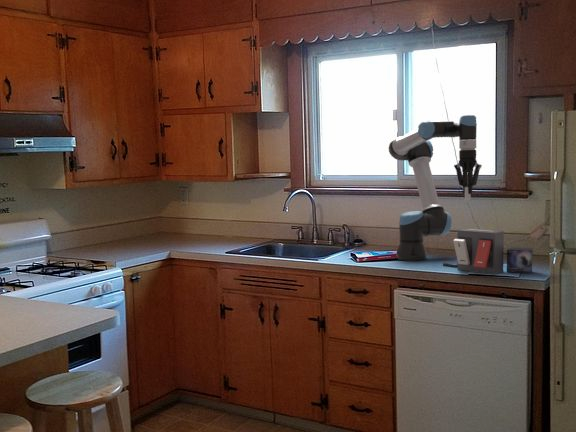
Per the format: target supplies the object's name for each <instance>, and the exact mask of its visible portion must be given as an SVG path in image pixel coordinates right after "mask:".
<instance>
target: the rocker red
mask: <svg viewBox="0 0 576 432" xmlns="http://www.w3.org/2000/svg"><path fill="white" fill-rule="evenodd" d="M491 243H492V242H491V241H487V240H479V244H478V248H477V253H476V257H475V262H474V267H478V268H486V266H487V261H488V256H489V252H490V247H491Z"/></svg>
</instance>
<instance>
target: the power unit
mask: <svg viewBox="0 0 576 432" xmlns="http://www.w3.org/2000/svg"><path fill="white" fill-rule="evenodd" d="M456 232H457V238H456V239H464V240H465V241H466V246H467V251H468V255H469V260H470V264H469V265H464V264H458V260H457V264H455V263H444V262H443V263H442V265H443V266H444V267H452V268H457V271H464V272H465V271H466V272H474V273H482V274H488V273H490V275H498V274H500V273H502V272H503V273H504V234H505V232H504V230H493V229H479V228H468V227H467V228H462V229H458V230H457V231H456ZM479 240H487V241H491V242H492V243H491V247H490V252H489V256H488V261H487V266H486V268H478V267H474V262H475V257H476V253H477V248H478V244H479Z"/></svg>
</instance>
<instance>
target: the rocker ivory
mask: <svg viewBox="0 0 576 432" xmlns="http://www.w3.org/2000/svg"><path fill="white" fill-rule="evenodd" d="M453 244H454V245H453V246H454V250H455V255H456V259H457V260H458V264H464V265H469V264H470V260H469V255H468V251H467V246H466V241H465V240H464V239H457V238H453Z"/></svg>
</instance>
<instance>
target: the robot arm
mask: <svg viewBox="0 0 576 432" xmlns="http://www.w3.org/2000/svg"><path fill="white" fill-rule="evenodd" d="M477 124H478V123H477V117H476V115H473V114H472V115H471V114H469V115H468V114H467V115H460V116H459V119H458V120H439V121H438V120H426V121H421V122H420V123H419V125H418V127H417V128H415V129H414V130H411V131H410V132H408V133H406V134H404V135H403V136H397V137H395V138H393V139H392V140H391V141H390V142H389V145H388V152H389V155H390V156H391V157H392V158H393V159H395V160H397V161H407V162H408V165H409V167H411V168H412V170H413V175H414V177H415V178H414V179H415V183H416V187H417V190H418V194H419V198H420V203H421V206H422V210H413V211H412V210H411V211H405V212H403V213H401V214H400V216H399V221H398V225H399V226H398V227H399V244H398V248H397V250H396V253H395V254H396V255H395V256H397V258H398V259H397V258H396V259H397V260H400V261H410V262H411V261H414V262H415V261H424V260H425V261H426V260H427V259H428V253H427V251H426V248H425V245H424V237H426V238H427V237H441V236H445V235H447V234H448V233H449V232H450V231H451V228H452V216H451V214H450V212H447V211H445V208H444V206H442V205H440V201H439V198H438V197H439V196H438V194H437V190H436V186H435V181H434V179H433V174H432V171H431V167H430V162H431V161H432V158H433V156H434V148H433V147H434V146H433V144H432V142H431V140H432V139H434V138H435V139H436V138H459V139H458V140H459V142H458V143H459V144H458V145H459V148H458V149H460V150H458V151H459V153H458V154H459V155H458V156H459V160H458V163H456V164H454V166H453V167H454V169H455V171H456V176H457V181H458V184H459V186H462V193H463V195H464V202H471V195H472V194H473V187H474V186H477V183H478V178H479V173H480V170H481V168H482V164H480V163H478V161H477V150H476V149H477Z"/></svg>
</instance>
